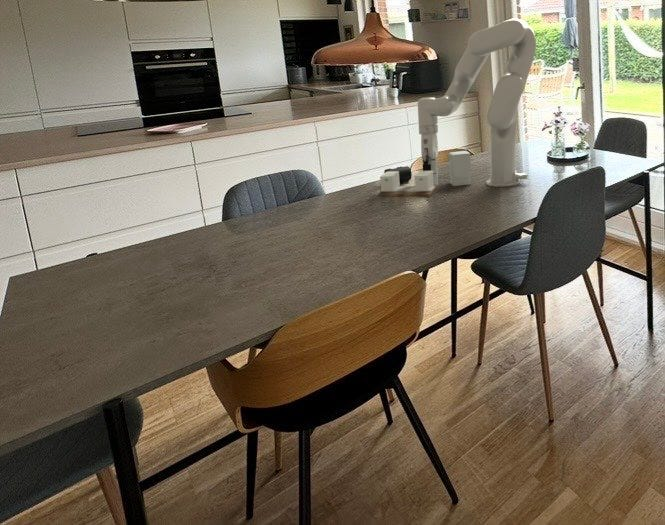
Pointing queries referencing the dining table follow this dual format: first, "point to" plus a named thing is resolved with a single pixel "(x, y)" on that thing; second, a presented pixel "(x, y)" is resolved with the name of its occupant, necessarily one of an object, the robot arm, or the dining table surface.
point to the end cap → (402, 173)
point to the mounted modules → (392, 181)
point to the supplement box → (460, 168)
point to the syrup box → (434, 169)
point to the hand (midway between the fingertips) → (430, 171)
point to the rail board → (407, 192)
